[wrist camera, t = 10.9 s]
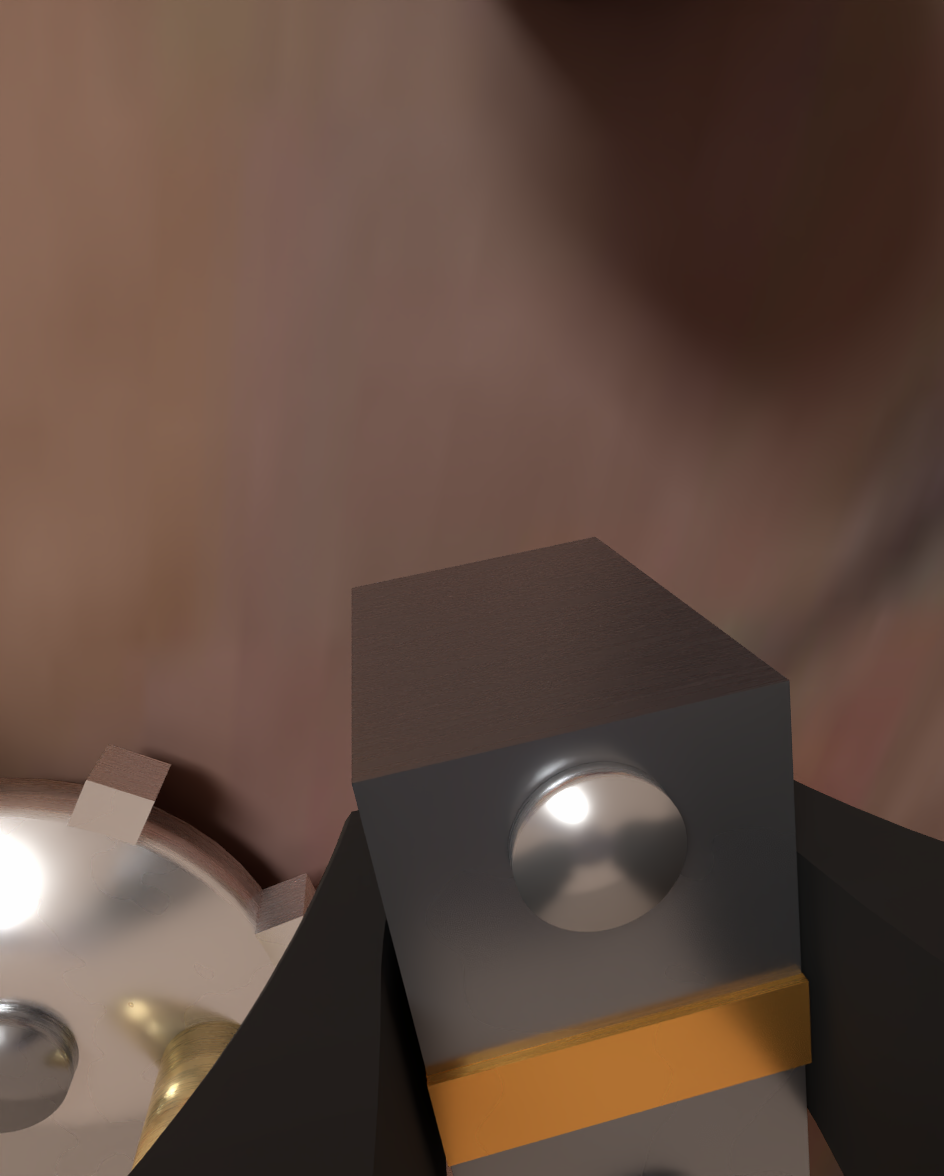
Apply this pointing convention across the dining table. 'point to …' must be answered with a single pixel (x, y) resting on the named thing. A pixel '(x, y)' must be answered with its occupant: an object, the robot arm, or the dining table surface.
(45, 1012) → the sprocket wheel
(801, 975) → the striped block with rivets
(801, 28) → the dining table surface
